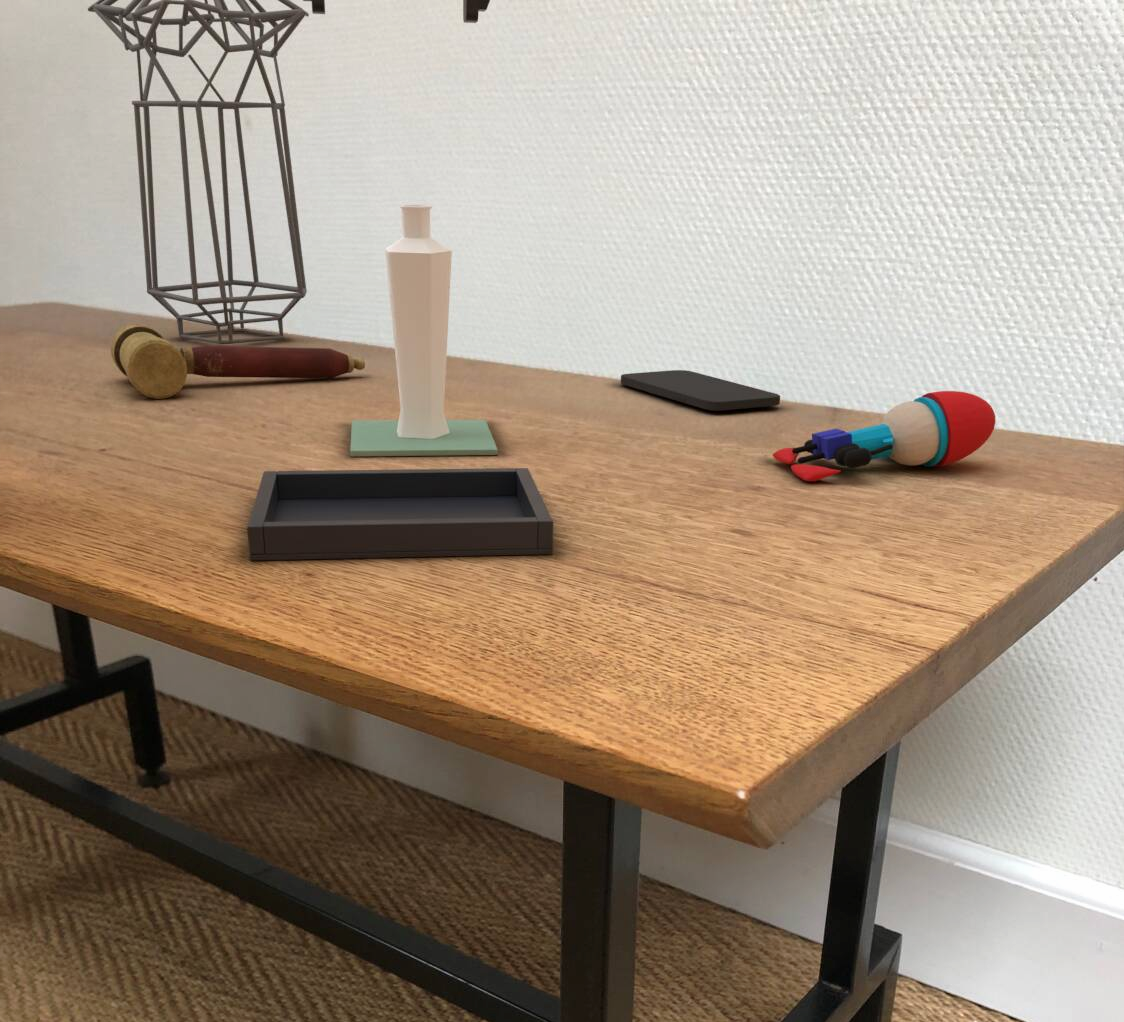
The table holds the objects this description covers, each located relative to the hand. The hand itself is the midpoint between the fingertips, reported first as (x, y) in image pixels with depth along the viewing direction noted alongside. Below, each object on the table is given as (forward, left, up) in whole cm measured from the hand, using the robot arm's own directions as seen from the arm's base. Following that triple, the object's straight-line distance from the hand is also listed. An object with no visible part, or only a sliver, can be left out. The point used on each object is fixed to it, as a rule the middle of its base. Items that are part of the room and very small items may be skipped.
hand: (395, 17), depth 71 cm
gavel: (-13, +32, -26) cm, 43 cm away
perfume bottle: (+1, +9, -25) cm, 27 cm away
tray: (-1, -13, -26) cm, 29 cm away
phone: (+25, +25, -26) cm, 43 cm away
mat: (+1, +9, -26) cm, 27 cm away
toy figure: (+32, -1, -26) cm, 41 cm away
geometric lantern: (-17, +57, -26) cm, 64 cm away
